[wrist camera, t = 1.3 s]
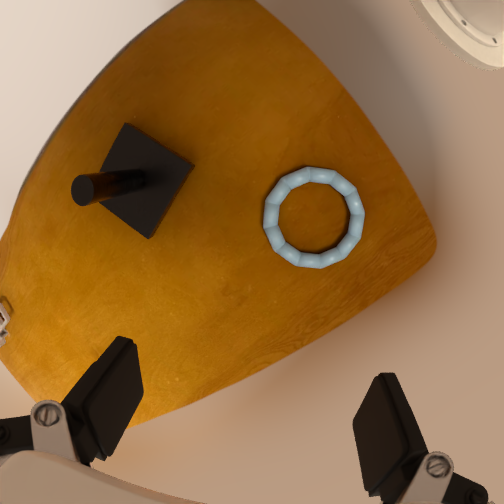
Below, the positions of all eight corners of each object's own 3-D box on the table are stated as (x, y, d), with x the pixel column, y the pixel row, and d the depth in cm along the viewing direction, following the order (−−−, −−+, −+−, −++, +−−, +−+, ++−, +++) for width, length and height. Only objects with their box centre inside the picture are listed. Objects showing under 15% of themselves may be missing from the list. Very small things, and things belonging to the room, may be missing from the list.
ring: (303, 147, 26) (304, 146, 24) (379, 208, 27) (384, 211, 25) (244, 227, 29) (243, 231, 27) (321, 282, 30) (323, 287, 28)
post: (130, 123, 26) (70, 113, 16) (195, 165, 27) (152, 168, 17) (94, 193, 29) (33, 209, 19) (152, 236, 30) (102, 270, 20)
